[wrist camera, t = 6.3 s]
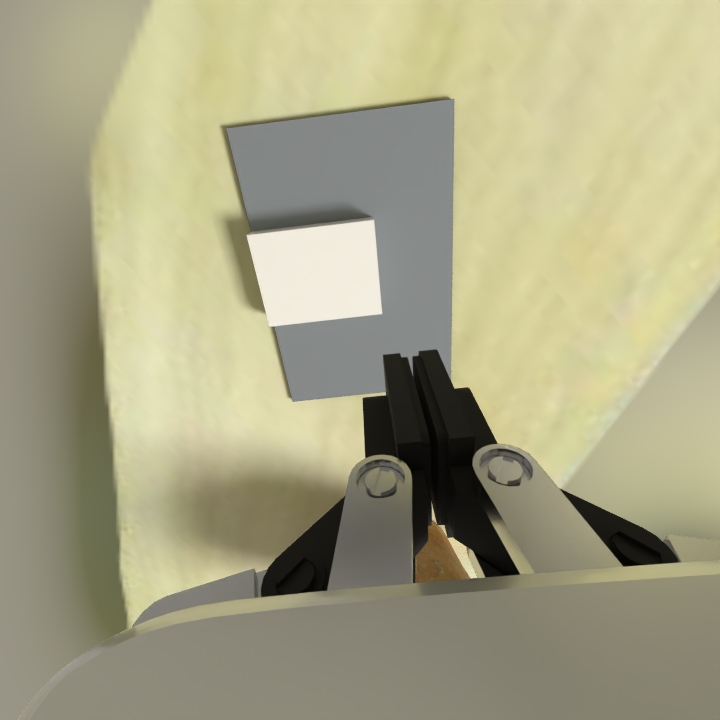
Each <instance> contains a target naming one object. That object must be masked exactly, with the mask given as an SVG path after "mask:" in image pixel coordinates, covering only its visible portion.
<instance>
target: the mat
mask: <svg viewBox="0 0 720 720" xmlns="http://www.w3.org/2000/svg"><path fill="white" fill-rule="evenodd" d="M226 130H227V134H228V138H229V142H230V146H231V150H232V154H233V159H234V163H235V167H236V171H237V175H238V179H239V183H240V187H241V191H242V196H243V200H244V204H245V208H246V212H247V216H248V220H249V224H250V228H251V232H253V231H261V230H269V229H278V228H286V227H294V226H302V225H311V224H319V223H327V222H335V221H344V220H352V219H360V218H368V217H373V219H374V224H375V236H376V247H377V259H378V271H379V282H380V294H381V306H382V314H378V315H369V316H360V317H352V318H343V319H334V320H325V321H316V322H307V323H299V324H290V325H281V326H274V327H275V331H276V335H277V340H278V344H279V348H280V352H281V356H282V360H283V364H284V368H285V372H286V377H287V381H288V385H289V389H290V393H291V397H292V401H293V402H295V401H304V400H314V399H323V398H332V397H342V396H351V395H361V394H370V393H379V392H386V388H385V376H384V364H383V355H385V354H395V353H400V354H401V357H408V360H409V364H410V367H411V371H412V375H413V364H412V357H413V356H418V353H419V351H424V350H434V349H437V350H438V352H439V355H440V357H441V359H442V362H443V364H444V366H445V368H446V371H447V373H448V375H449V378H450V380H451V330H452V248H453V166H454V99H449V100H441V101H434V102H426V103H418V104H411V105H403V106H395V107H388V108H380V109H372V110H365V111H357V112H349V113H341V114H334V115H326V116H318V117H311V118H303V119H295V120H288V121H280V122H272V123H265V124H257V125H249V126H241V127H234V128H226Z"/></svg>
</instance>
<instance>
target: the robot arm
mask: <svg viewBox="0 0 720 720" xmlns="http://www.w3.org/2000/svg"><path fill="white" fill-rule="evenodd" d="M383 364H384V376H385V388H386V396H376V397H365V398H363V415H364V437H365V459H363V460H362V461H360V462H359V463H357V464H356V466H355V467H354V468H353V469H352V471H351V474H350V476H349V481H348V486H347V491H346V496H345V497H344V498H342V499H341V500H340V501H339V502H338V503H337V504H336V505H335V506H334V507H333V508H331V509H330V510H329V511H328V512H327V513H326V514H325V515H324V516H323V517H322V518H320V519H319V520H318V521H317V522H316V523H315V524H314V525H313V526H312V527H310V528H309V529H308V530H307V531H306V532H305V533H304V534H303V535H302V536H301V537H299V538H298V539H297V540H296V541H295V542H294V543H293V544H292V545H291V546H290V547H288V548H287V549H286V550H285V551H284V552H283V553H282V554H281V555H280V556H278V557H277V558H276V559H275V561H274V562H273V563H272V564H271V565H270V566H269V568H268V569H267V570H264V571H261V572H258V573H256V572H255V570H254V569H251V570H248V571H245V572H241V573H238V574H235V575H232V576H229V577H226V578H223V579H219V580H216V581H213V582H210V583H207V584H204V585H200V586H197V587H194V588H191V589H188V590H185V591H181V592H178V593H175V594H172V595H169V596H166V597H164V598H162V599H160V600H158V601H156V602H154V603H153V604H152V605H151V606H149V607H148V608H147V609H146V610H145V611H144V612H142V614H141V615H140V616H139V618H138V619H137V620H136V622H135V623H134V624H133V626H132V628H129V629H127V630H125V631H123V632H121V633H119V634H117V635H115V636H113V637H111V638H109V639H107V640H105V641H103V642H102V643H100V644H99V645H96V646H95V647H93V648H91V649H90V650H88V651H87V652H85V653H84V654H82V655H81V656H79V657H78V658H76V659H75V660H73V661H72V662H71V663H69V664H68V665H67V666H66V667H64V668H63V669H62V670H61V671H60V672H58V673H57V674H56V675H55V676H54V677H53V678H52V679H51V680H50V681H49V682H48V683H47V684H46V685H45V686H44V687H43V688H42V689H41V690H40V691H39V692H38V693H37V695H36V696H35V697H34V698H33V699H32V701H31V702H30V703H29V704H28V705H27V707H26V708H25V709H24V711H23V712H22V713H21V714H20V716H19V717H18V718H17V720H720V541H719V540H711V539H702V538H694V537H693V538H692V537H685V536H676V535H668V534H667V535H666V536H665V538H664V539H659V538H658V537H657V536H656V535H654V534H652V533H651V532H649V531H647V530H645V529H644V528H642V527H640V526H638V525H635V524H633V523H631V522H629V521H627V520H625V519H623V518H621V517H619V516H617V515H615V514H612V513H610V512H608V511H606V510H604V509H602V508H600V507H598V506H595V505H593V504H591V503H589V502H587V501H585V500H583V499H580V498H579V497H576V496H574V495H572V494H570V493H568V492H566V491H564V490H562V489H560V488H558V487H557V485H556V484H555V483H554V482H553V481H552V479H551V478H550V477H549V476H548V475H547V473H546V472H545V471H544V470H543V468H542V467H541V466H540V465H539V464H538V462H537V461H536V460H535V459H534V458H533V457H532V456H531V455H530V454H529V453H527V452H525V451H523V450H522V449H520V448H517V447H514V446H511V445H505V444H497V442H496V440H495V438H494V436H493V434H492V432H491V430H490V428H489V426H488V424H487V422H486V420H485V418H484V416H483V414H482V412H481V410H480V408H479V406H478V404H477V402H476V400H475V398H474V396H473V394H472V392H471V390H470V389H469V388H457V389H454V387H453V384H452V382H451V380H450V378H449V375H448V373H447V371H446V368H445V366H444V364H443V362H442V359H441V357H440V355H439V352H438V350H437V349H434V350H424V351H419V353H418V356H413V357H412V364H413V375H412V371H411V367H410V364H409V360H408V357H401V354H400V353H395V354H385V355H383ZM431 500H432V505H433V509H434V513H435V518H436V522H437V525H445V529H446V533H447V537H448V538H450V537H454V539H456V540H457V541H459V542H460V543H462V544H463V545H465V546H466V547H467V553H468V557H469V560H470V562H471V564H472V566H473V568H474V571H475V573H476V575H477V577H478V578H473V579H461V580H449V581H436V582H424V583H416V555H417V554H418V553H419V552H420V550H421V549H422V548H423V547H424V545H425V544H426V543H427V542H428V526H431V525H432V505H431Z"/></svg>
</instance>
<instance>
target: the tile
mask: <svg viewBox="0 0 720 720" xmlns="http://www.w3.org/2000/svg"><path fill="white" fill-rule="evenodd" d="M247 239H248V243H249V247H250V251H251V255H252V259H253V263H254V267H255V271H256V275H257V279H258V283H259V287H260V291H261V295H262V299H263V303H264V307H265V311H266V315H267V319H268V323H269V327H272V326H281V325H290V324H299V323H307V322H316V321H325V320H334V319H343V318H352V317H360V316H369V315H378V314H382V306H381V294H380V282H379V271H378V259H377V247H376V236H375V224H374V219H373V217H368V218H360V219H352V220H344V221H335V222H327V223H319V224H311V225H302V226H294V227H286V228H278V229H269V230H261V231H253V232H251V233H249V234H248V235H247Z"/></svg>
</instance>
